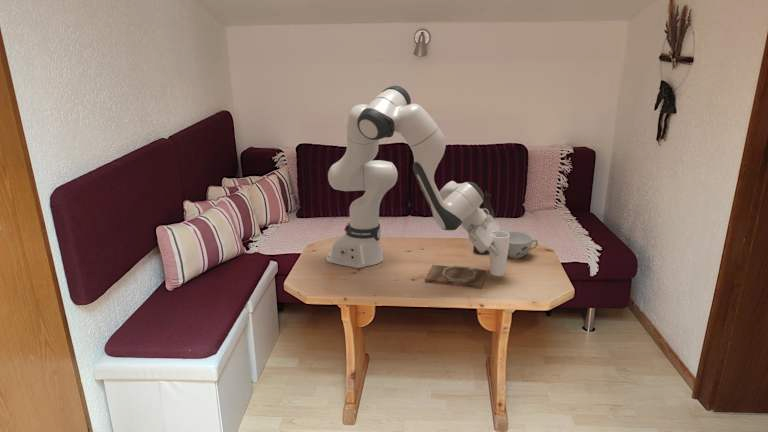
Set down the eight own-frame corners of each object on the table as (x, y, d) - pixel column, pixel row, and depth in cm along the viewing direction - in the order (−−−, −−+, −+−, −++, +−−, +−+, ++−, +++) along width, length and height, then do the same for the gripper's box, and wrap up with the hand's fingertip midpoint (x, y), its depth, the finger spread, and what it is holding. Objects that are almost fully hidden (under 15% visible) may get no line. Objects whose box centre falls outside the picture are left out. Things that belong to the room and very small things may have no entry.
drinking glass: (507, 278, 189) (510, 238, 184) (487, 276, 190) (489, 237, 185) (506, 270, 195) (509, 231, 190) (487, 268, 197) (490, 230, 192)
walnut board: (424, 282, 192) (424, 276, 191) (432, 267, 204) (432, 262, 203) (481, 288, 186) (482, 283, 186) (486, 273, 198) (486, 268, 197)
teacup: (503, 262, 207) (504, 243, 204) (495, 250, 219) (496, 231, 216) (542, 261, 207) (543, 241, 205) (532, 249, 219) (533, 230, 217)
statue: (483, 246, 223) (487, 188, 214) (498, 251, 218) (504, 192, 209) (470, 252, 217) (474, 193, 208) (486, 258, 212) (491, 197, 203)
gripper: (473, 225, 180) (501, 257, 179) (487, 207, 197) (513, 235, 197) (459, 236, 183) (487, 267, 182) (475, 217, 200) (500, 245, 200)
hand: (500, 250), depth 190 cm, fingers closed on drinking glass, 6 cm apart
